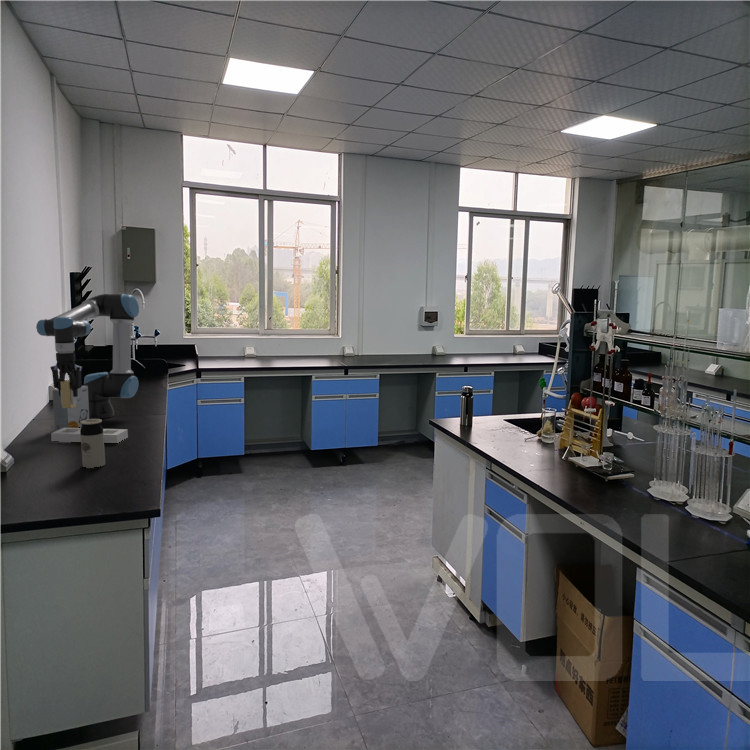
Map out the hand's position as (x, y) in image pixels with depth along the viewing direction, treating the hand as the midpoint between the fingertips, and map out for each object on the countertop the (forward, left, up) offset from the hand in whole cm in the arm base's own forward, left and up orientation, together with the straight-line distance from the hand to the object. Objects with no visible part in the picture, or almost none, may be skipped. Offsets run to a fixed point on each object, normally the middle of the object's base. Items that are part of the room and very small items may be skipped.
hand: (69, 403), depth 256 cm
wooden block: (0, 0, -2) cm, 2 cm away
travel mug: (+35, +30, -17) cm, 49 cm away
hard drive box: (-20, -11, -17) cm, 28 cm away
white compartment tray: (0, +9, -17) cm, 19 cm away
